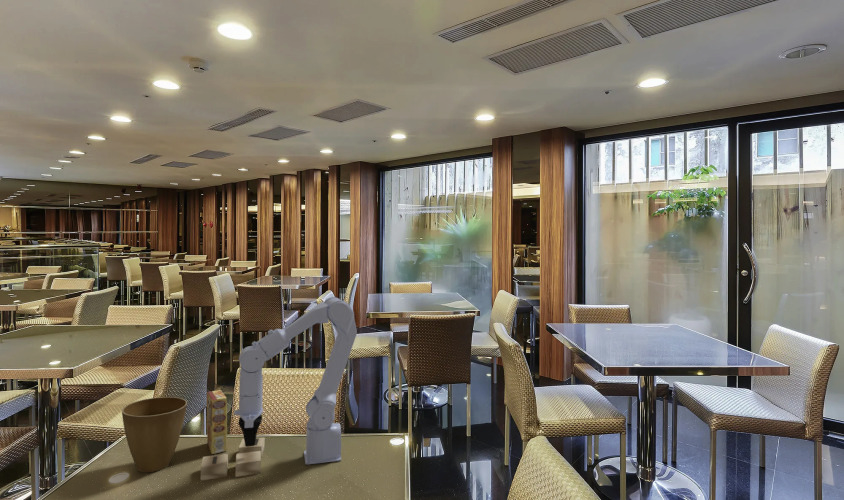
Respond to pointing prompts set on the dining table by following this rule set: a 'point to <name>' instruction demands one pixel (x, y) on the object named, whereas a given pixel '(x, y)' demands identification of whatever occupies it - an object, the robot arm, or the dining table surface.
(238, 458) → the plain block
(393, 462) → the dining table surface
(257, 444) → the numbered block eleven
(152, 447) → the plant pot
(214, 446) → the candy box
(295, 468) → the dining table surface
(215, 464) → the numbered block one
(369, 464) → the dining table surface
